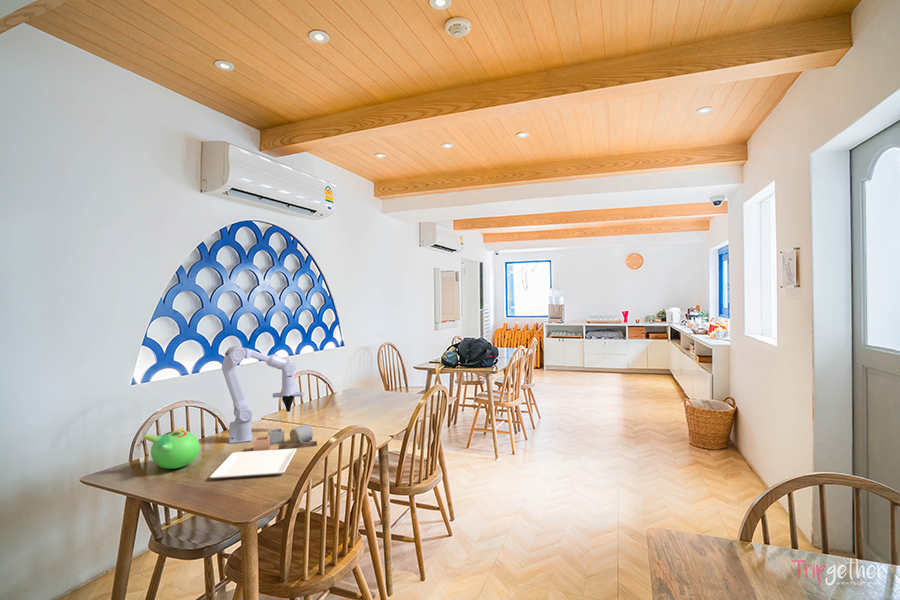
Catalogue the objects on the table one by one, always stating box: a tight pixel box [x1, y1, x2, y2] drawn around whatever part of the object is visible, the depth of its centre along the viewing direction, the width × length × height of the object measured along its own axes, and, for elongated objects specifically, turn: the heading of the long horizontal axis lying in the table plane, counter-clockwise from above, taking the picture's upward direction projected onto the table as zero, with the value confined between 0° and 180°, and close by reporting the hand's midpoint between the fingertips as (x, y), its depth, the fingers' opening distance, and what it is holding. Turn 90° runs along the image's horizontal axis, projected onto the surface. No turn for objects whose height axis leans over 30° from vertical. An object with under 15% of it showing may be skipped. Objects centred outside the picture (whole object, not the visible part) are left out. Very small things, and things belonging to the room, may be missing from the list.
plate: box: [209, 448, 298, 479], centre depth 175 cm, size 26×26×2 cm
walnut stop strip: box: [278, 440, 318, 450], centre depth 195 cm, size 16×1×2 cm, turn 107°
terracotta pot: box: [253, 435, 271, 451], centre depth 193 cm, size 6×6×5 cm
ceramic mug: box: [289, 423, 314, 444], centre depth 201 cm, size 11×8×8 cm
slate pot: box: [267, 428, 285, 446], centre depth 204 cm, size 6×6×5 cm
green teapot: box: [142, 427, 201, 469], centre depth 174 cm, size 18×17×15 cm
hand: (288, 411), depth 220 cm, fingers closed
